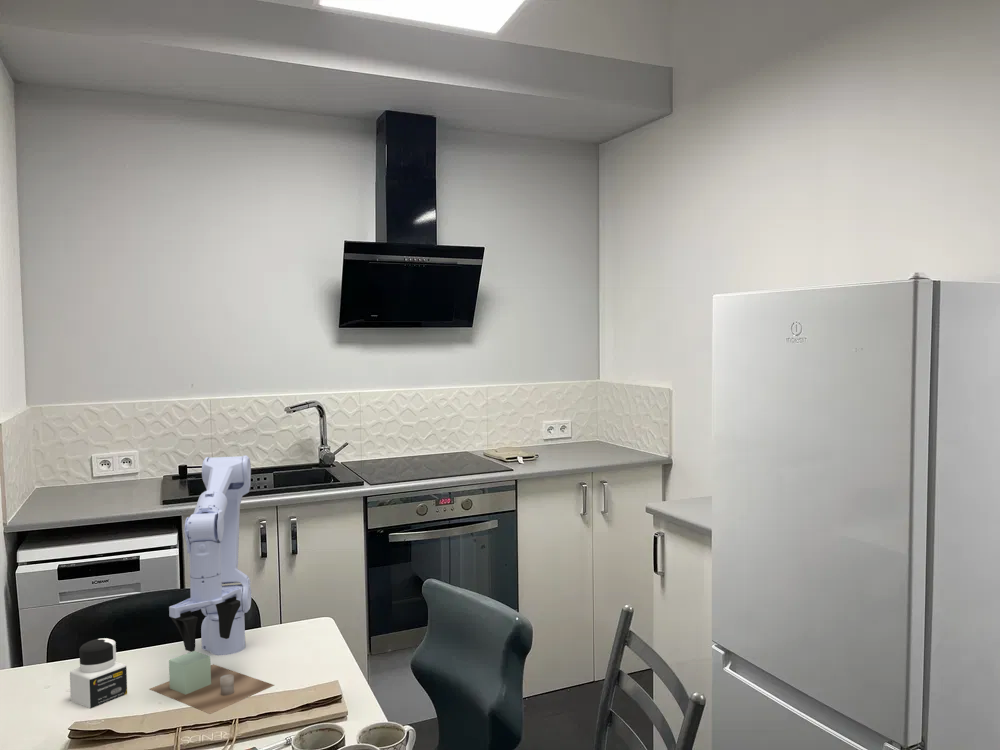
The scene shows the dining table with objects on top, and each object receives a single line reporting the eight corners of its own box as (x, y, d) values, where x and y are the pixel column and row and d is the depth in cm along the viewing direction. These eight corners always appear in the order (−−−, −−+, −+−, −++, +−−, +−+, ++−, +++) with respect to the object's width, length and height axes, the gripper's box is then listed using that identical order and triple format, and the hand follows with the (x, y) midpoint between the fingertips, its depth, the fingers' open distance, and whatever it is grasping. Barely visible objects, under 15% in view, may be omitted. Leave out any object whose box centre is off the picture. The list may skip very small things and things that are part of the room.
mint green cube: (169, 688, 142) (168, 660, 142) (195, 678, 146) (194, 650, 146) (185, 694, 139) (184, 665, 139) (211, 684, 143) (210, 656, 143)
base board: (149, 696, 142) (148, 673, 142) (213, 671, 153) (212, 649, 153) (210, 722, 130) (209, 697, 130) (274, 692, 142) (274, 669, 142)
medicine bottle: (90, 716, 134) (88, 651, 134) (70, 708, 138) (68, 644, 138) (128, 701, 140) (126, 638, 140) (107, 693, 144) (105, 632, 144)
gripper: (183, 586, 135) (186, 660, 135) (249, 568, 147) (251, 635, 147) (162, 581, 139) (164, 653, 139) (228, 564, 151) (230, 629, 151)
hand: (207, 643), depth 143 cm, fingers open, 7 cm apart
